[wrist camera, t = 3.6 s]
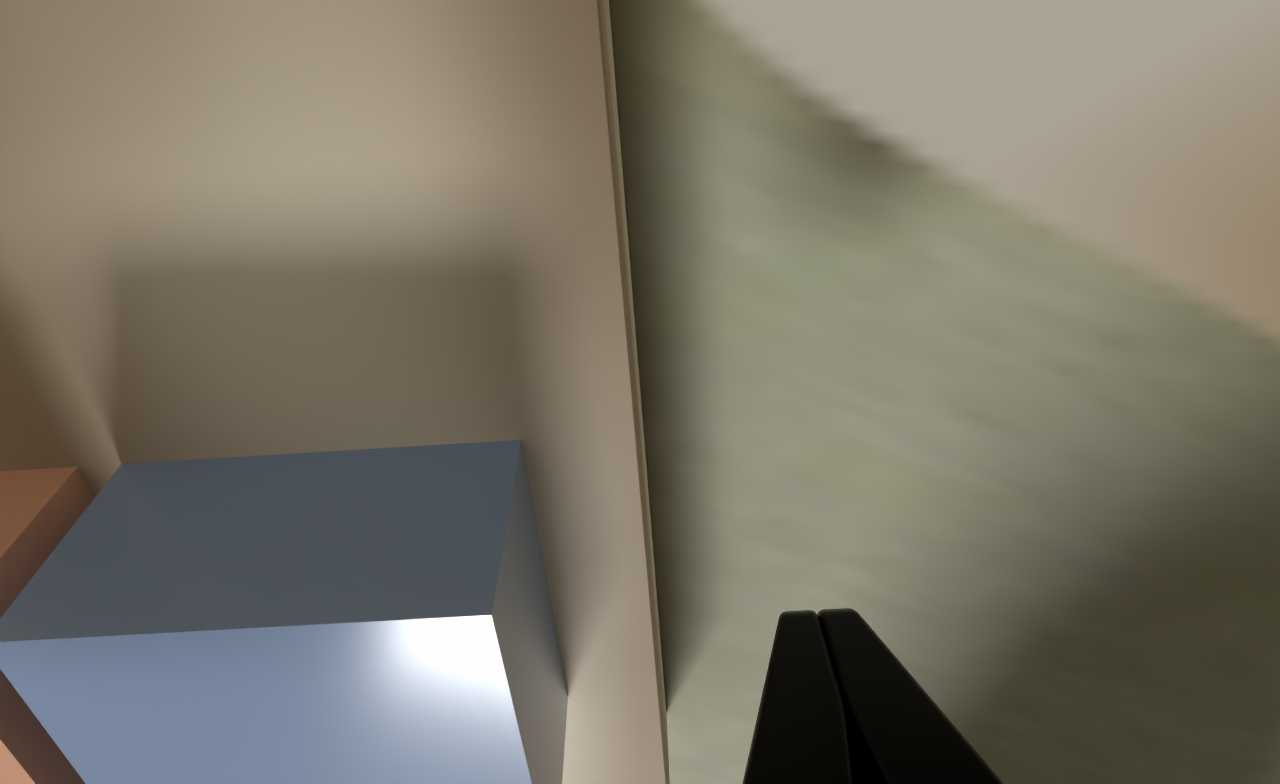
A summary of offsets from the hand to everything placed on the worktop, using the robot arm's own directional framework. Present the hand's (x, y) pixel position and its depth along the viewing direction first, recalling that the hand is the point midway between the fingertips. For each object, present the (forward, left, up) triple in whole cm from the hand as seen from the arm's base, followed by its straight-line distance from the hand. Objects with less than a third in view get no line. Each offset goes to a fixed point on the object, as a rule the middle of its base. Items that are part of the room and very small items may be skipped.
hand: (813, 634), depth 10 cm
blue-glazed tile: (+5, 0, -1) cm, 5 cm away
